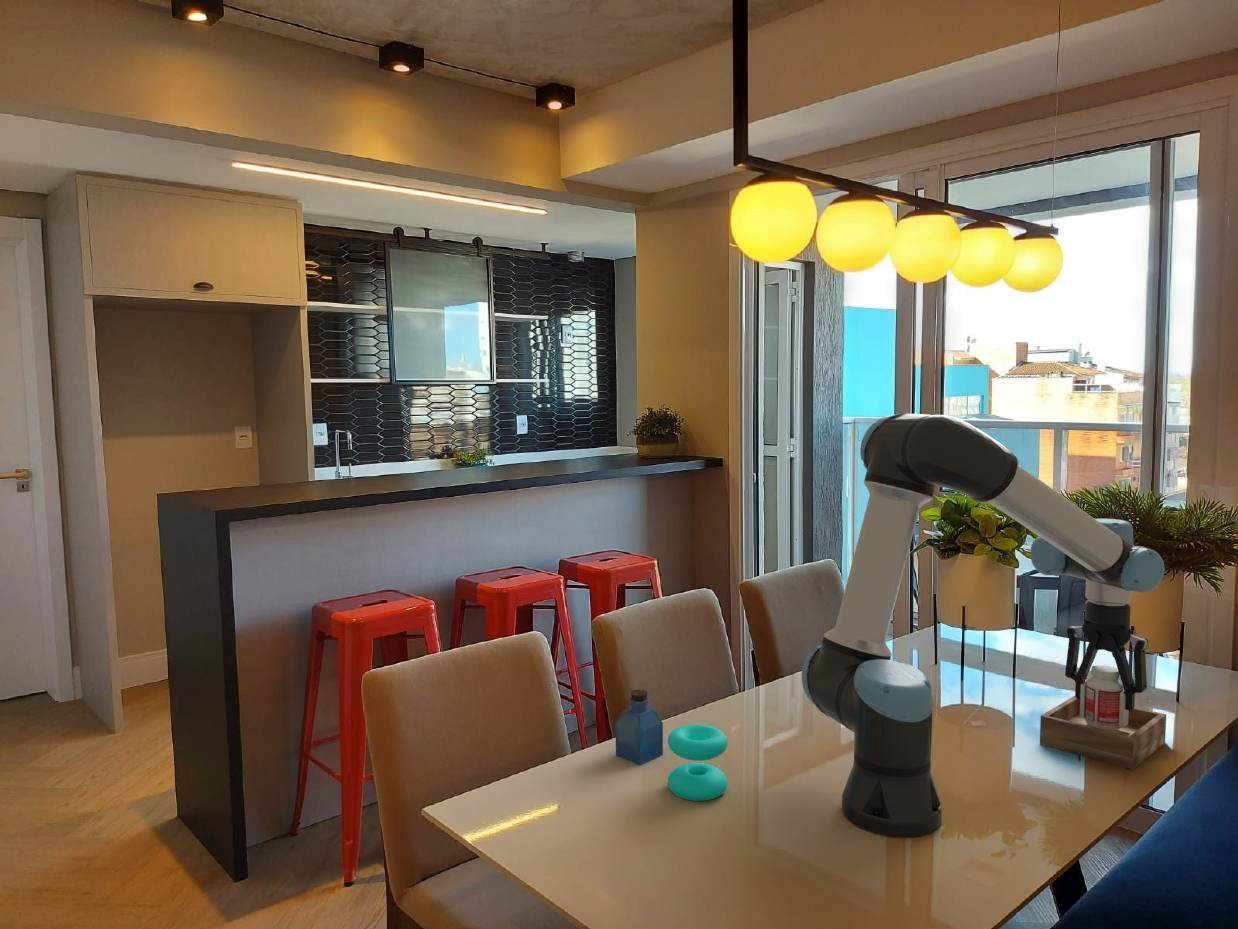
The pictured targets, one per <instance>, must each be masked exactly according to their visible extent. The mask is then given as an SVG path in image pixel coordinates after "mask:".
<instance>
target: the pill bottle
mask: <svg viewBox="0 0 1238 929" xmlns="http://www.w3.org/2000/svg"><path fill="white" fill-rule="evenodd" d="M1090 673H1091V674H1090V675H1091V676H1090V677H1089V678H1087V679H1086V681H1087V684H1086V723H1087V724H1088V725H1090V726H1092V727H1095V728H1098V729H1102V730H1118V729H1120V728H1121V727H1119V704H1120V693H1121V692H1122V691H1124V688H1123V684H1122V681H1121V680H1119V679H1120V675H1119V671H1118V668H1117V667H1114V666H1111V665H1104V664H1101V665H1100V664H1098V665H1097V664H1096V665H1095V664H1094V665H1092V666H1091V668H1090Z"/></svg>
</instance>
